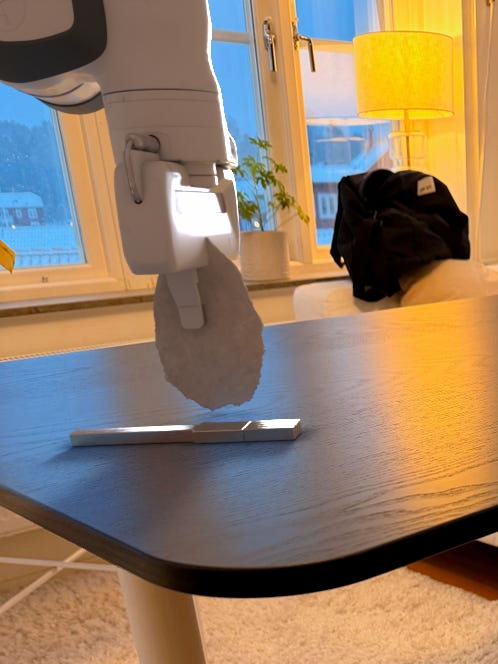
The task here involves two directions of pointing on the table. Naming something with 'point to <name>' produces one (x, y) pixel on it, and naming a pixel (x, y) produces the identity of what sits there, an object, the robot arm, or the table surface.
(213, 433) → the grey long bar
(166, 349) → the stone tool
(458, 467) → the table surface
